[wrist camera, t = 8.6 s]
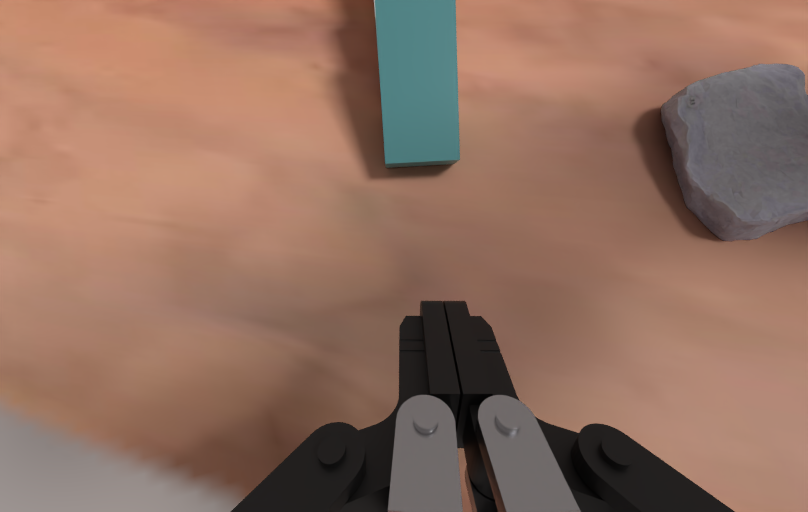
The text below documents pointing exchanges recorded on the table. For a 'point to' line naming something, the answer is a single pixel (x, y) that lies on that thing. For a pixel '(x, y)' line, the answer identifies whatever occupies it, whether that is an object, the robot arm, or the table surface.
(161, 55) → the table surface
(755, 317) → the table surface
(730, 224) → the stone block
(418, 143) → the domino
